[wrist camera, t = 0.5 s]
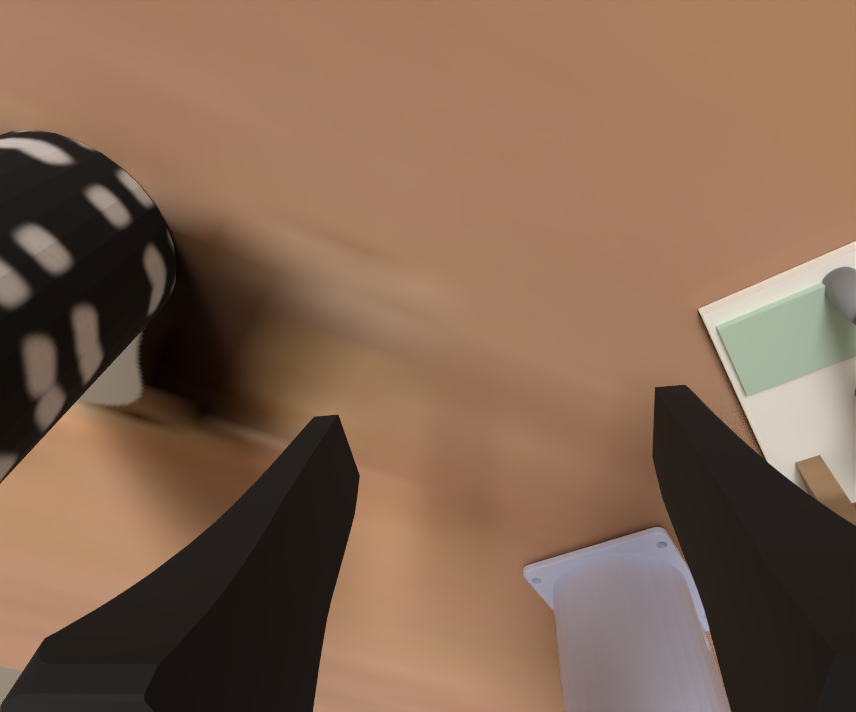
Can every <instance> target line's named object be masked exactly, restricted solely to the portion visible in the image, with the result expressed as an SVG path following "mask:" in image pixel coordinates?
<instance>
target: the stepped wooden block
mask: <svg viewBox="0 0 856 712" xmlns="http://www.w3.org/2000/svg"><path fill="white" fill-rule="evenodd" d="M795 463H796V466H797V468H798V471H799V473H800V475H801V478H802V480H803V482H804V485H805V487H806V490H807V492H808V494H809V495H810V496H812V497H813V498H815V499H816V500H818V501H819V502H821V503H822V504H823V505H825V506H826V507H828V508H829V509H831V510H832V511H834V512H835V513H837V514H838V515H840V516H841V517H843V518H844V519H846V520H847V521H849V522H851V523H852V524H854V525H855V526H856V509H855V508H854V506H853V505H852V503H851V501H850V500H849V498H848V497H847V495H846V494H845V492H844V491H843V489H842V488H841V486H840V485H839V483H838V482H837V480H836V479H835V477H834V476H833V474H832V472H831V471H830V469H829V468H828V466H827V465H826V463H825V462H824V460H823V459H822V457H821V456H820V455H818V456H815V457H811V458H808V459H805V460H802V461H799V462H795Z"/></svg>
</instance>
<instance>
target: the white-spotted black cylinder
mask: <svg viewBox="0 0 856 712" xmlns="http://www.w3.org/2000/svg"><path fill="white" fill-rule="evenodd" d="M176 265H177V263H176V257H175V251H174V245H173V242H172V239H171V236H170V233H169V231H168V228H167V225H166V223H165V222H164V220H163V218H162V216H161V214H160V213H159V211H158V209H157V207H156V206H155V204H154V203H153V202H152V200H151V199H150V198H149V196H148V195H147V194H146V193H145V191H144V190H143V189H142V187H141V186H140V185H139V184H138V183H137V182H136V181H135V180H134V179H133V178H132V177H131V176H130V175H128V174H127V173H126V172H125V171H124V170H123V169H122V168H121V167H120V166H118V165H117V164H115V163H114V162H113V161H111V160H110V159H109V158H107V157H106V156H104V155H103V154H102V153H100V152H98V151H96V150H94V149H92V148H90V147H89V146H87V145H85V144H83V143H81V142H79V141H77V140H74V139H71V138H68V137H64V136H61V135H58V134H55V133H50V132H43V131H35V130H25V131H11V132H8V133H5V134H2V135H0V483H1V482H2V481H3V480H4V479H5V478H6V477H7V476H8V474H9V473H10V472H11V471H12V470H13V469H14V468H15V467H16V466H17V465H18V464H19V463H20V462H21V460H22V459H23V458H24V457H25V456H26V455H27V454H28V453H29V452H30V451H31V450H32V449H33V447H34V446H35V445H36V444H37V443H38V442H39V441H40V440H41V439H42V438H43V437H44V436H45V435H46V433H47V432H48V431H49V430H50V429H51V428H52V427H53V426H54V425H55V424H56V423H57V422H58V421H59V419H60V418H61V417H62V416H63V415H64V414H65V413H66V412H67V411H68V410H69V409H70V408H71V406H72V405H73V404H74V403H75V402H76V401H77V400H78V399H79V398H80V397H81V396H82V395H83V394H84V392H85V391H86V390H87V389H88V388H89V387H90V386H91V385H92V384H93V383H94V382H95V381H96V380H97V378H98V377H99V376H100V375H101V374H102V373H103V372H104V371H105V370H106V369H107V367H108V366H110V364H111V363H112V362H113V361H114V360H115V359H116V358H117V357H118V356H119V355H120V354H121V353H122V351H123V350H124V349H125V348H126V347H127V346H128V345H129V344H130V343H131V342H132V341H133V340H134V339H135V337H136V336H137V335H138V334H139V333H140V332H141V331H142V330H143V329H144V328H145V327H146V326H147V325H148V323H149V322H150V321H151V320H152V319H153V318H154V317H155V316H156V315H157V314H158V313H159V312H160V311H161V309H162V308H163V307H164V305H165V304H166V302H167V301H168V299H169V298H170V296H171V293H172V290H173V287H174V284H175V281H176Z"/></svg>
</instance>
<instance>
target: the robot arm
mask: <svg viewBox="0 0 856 712" xmlns="http://www.w3.org/2000/svg"><path fill="white" fill-rule="evenodd" d="M652 457H653V461H654V465H655V469H656V474H657V478H658V482H659V486H660V490H661V494H662V498H663V501H664V503H665V506H666V509H667V512H668V514H669V517H670V519H671V522H672V525H673V527H674V530H675V533H676V535H677V538H678V541H679V543H680V546H681V548H682V551H683V554H684V556H685V559H686V561H687V563H686V561H685V560H684V558H683V557H682V555H681V553H680V552H679V550H678V548H677V547H676V545H675V544H674V542H673V540H672V539H671V537H670V536H669V534H668V532H667V531H666V530H665V529H664V528H661V527H653V528H650V529H646V530H643V531H640V532H636V533H633V534H630V535H626V536H623V537H620V538H616V539H613V540H610V541H606V542H603V543H600V544H596V545H593V546H589V547H586V548H583V549H579V550H576V551H573V552H569V553H566V554H563V555H559V556H556V557H553V558H549V559H546V560H543V561H539V562H536V563H533V564H529V565H527V566H525V567H524V568H523V576H524V578H525V579H526V580H527V581H528V582H529V583H530V585H531V586H532V587H533V588H534V589H535V590H536V592H537V593H538V594H539V595H540V596H541V597H542V599H543V600H544V601H545V602H546V603H547V604H548V605H549V607H550V608H551V609H552V610H553V611H554V614H555V624H556V635H557V645H558V656H559V666H560V677H561V687H562V698H563V708H564V712H856V526H855V525H854V524H852V523H851V522H849V521H847V520H846V519H844V518H843V517H841V516H840V515H838V514H837V513H835V512H834V511H832V510H831V509H829V508H828V507H826V506H825V505H823V504H822V503H821V502H819V501H818V500H816V499H815V498H813V497H812V496H810V495H809V494H808V493H806V492H805V491H803V490H802V489H801V488H800V487H798V486H797V485H796V484H794V483H793V482H792V481H790V480H789V479H788V478H787V477H785V476H784V475H783V474H782V473H780V472H779V471H778V470H777V469H775V468H774V467H773V466H772V465H770V464H769V463H768V462H767V461H766V460H765V459H763V458H762V457H761V456H760V455H759V454H757V453H756V452H755V451H754V450H753V449H752V448H751V447H750V446H749V445H747V444H746V443H745V442H744V441H743V440H742V439H741V438H740V437H738V436H737V435H736V434H735V433H734V432H733V431H732V430H731V429H730V428H729V427H728V426H727V425H726V424H725V423H724V422H723V421H721V420H720V419H719V418H718V417H717V416H716V415H715V414H714V413H713V412H712V411H711V410H710V409H709V408H708V407H707V406H706V405H705V404H704V403H703V402H702V401H701V400H700V399H699V398H698V397H697V395H696V394H695V393H694V392H693V391H692V390H691V389H690V388H688V387H687V386H686V385H678V386H666V387H655V404H654V430H653V455H652ZM359 477H360V475H359V472H358V470H357V467H356V464H355V461H354V458H353V455H352V452H351V450H350V447H349V444H348V441H347V438H346V435H345V433H344V430H343V427H342V424H341V421H340V418H339V415H330V416H318V417H314V418H313V419H312V420H311V421H310V422H309V423H308V424H307V425H306V426H305V427H304V429H303V430H302V431H301V432H300V433H299V434H298V435H297V437H296V438H295V439H294V440H293V441H292V442H291V444H290V445H289V446H288V447H287V448H286V449H285V450H284V452H283V453H282V454H281V455H280V456H279V457H278V458H277V459H276V461H275V462H274V463H273V464H272V465H271V466H270V467H269V468H268V469H267V471H266V472H265V473H264V474H263V475H262V476H261V477H260V478H259V479H258V480H257V481H256V482H255V483H254V484H253V485H252V486H251V487H250V488H249V489H248V490H247V491H246V492H245V494H244V495H243V496H242V497H241V498H240V499H239V500H238V501H237V502H236V503H235V504H234V505H233V506H232V507H231V508H230V509H229V510H228V511H227V512H225V513H224V514H223V515H222V516H221V517H220V518H219V519H218V520H217V521H216V522H215V523H214V524H212V525H211V526H210V527H209V528H208V529H207V530H205V531H204V532H203V533H202V534H201V535H200V536H198V537H197V538H196V539H195V540H194V541H193V542H191V543H190V544H189V545H188V546H186V547H185V548H184V549H182V550H181V551H180V552H178V553H177V554H176V555H175V556H173V557H172V558H171V559H169V560H168V561H167V562H165V563H164V564H163V565H161V566H160V567H159V568H157V569H156V570H155V571H154V572H152V573H151V574H149V575H148V576H146V577H145V578H144V579H142V580H141V581H139V582H138V583H136V584H135V585H133V586H132V587H130V588H129V589H127V590H126V591H124V592H123V593H121V594H120V595H118V596H117V597H115V598H113V599H112V600H110V601H109V602H107V603H106V604H104V605H102V606H101V607H99V608H97V609H96V610H94V611H92V612H91V613H89V614H87V615H85V616H84V617H82V618H80V619H79V620H77V621H75V622H73V623H72V624H70V625H68V626H66V627H65V628H63V629H61V630H59V631H58V632H56V633H54V634H52V635H50V636H49V637H47V638H45V639H44V640H43V642H42V643H41V645H40V646H39V648H38V649H37V651H36V652H35V654H34V655H33V657H32V658H31V660H30V661H29V663H28V664H27V666H26V667H25V669H24V671H23V672H22V674H21V675H20V677H19V678H18V680H17V681H16V683H15V684H14V686H13V687H12V689H11V690H10V692H9V693H8V695H7V696H6V698H5V699H4V701H3V702H2V704H1V707H0V712H313V706H314V698H315V691H316V685H317V678H318V671H319V664H320V657H321V651H322V645H323V639H324V633H325V627H326V621H327V617H328V612H329V608H330V604H331V599H332V596H333V592H334V588H335V585H336V581H337V578H338V574H339V570H340V567H341V563H342V559H343V556H344V552H345V549H346V545H347V541H348V537H349V534H350V530H351V526H352V522H353V518H354V515H355V508H356V501H357V494H358V485H359ZM687 564H688V565H687ZM707 631H710V633H711V637H712V640H713V644H714V648H715V651H716V655H717V659H718V663H719V667H720V671H721V674H722V678H723V682H724V686H725V690H726V693H725V690H724V687H723V683H722V680H721V677H720V674H719V671H718V668H717V664H716V661H715V658H714V655H713V652H712V649H711V646H710V642H709V639H708V636H707V633H706V632H707ZM726 694H727V696H726ZM727 698H728V699H727Z"/></svg>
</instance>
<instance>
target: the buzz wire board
mask: <svg viewBox="0 0 856 712" xmlns="http://www.w3.org/2000/svg"><path fill="white" fill-rule="evenodd" d="M855 268H856V241H855V242H852V243H850V244H848V245H845V246H843V247H841V248H838V249H836V250H834V251H831V252H829V253H827V254H825V255H822V256H820V257H818V258H815V259H813V260H811V261H808V262H806V263H804V264H801V265H799V266H797V267H794V268H792V269H790V270H787V271H785V272H783V273H781V274H778V275H776V276H774V277H771V278H769V279H767V280H764V281H762V282H760V283H757V284H755V285H753V286H750V287H748V288H746V289H743V290H741V291H739V292H736V293H734V294H732V295H730V296H727V297H725V298H723V299H720V300H718V301H716V302H713V303H711V304H709V305H706V306H704V307H702V308H699V309H698V311H699V313H700V315H701V317H702V320H703V322H704V324H705V326H706V328H707V331H708V333H709V335H710V337H711V339H712V342H713V344H714V346H715V348H716V351H717V353H718V355H719V357H720V359H721V362H722V364H723V366H724V368H725V370H726V373H727V375H728V377H729V379H730V382H731V384H732V386H733V388H734V390H735V393H736V395H737V397H738V399H739V402H740V404H741V406H742V408H743V410H744V413H745V415H746V417H747V419H748V421H749V424H750V426H751V428H752V430H753V433H754V435H755V437H756V439H757V441H758V444H759V446H760V448H761V450H762V452H763V455H764V457H765V459H766V461H767V462H768V463H769V464H770V465H772V466H773V467H774V468H775V469H777V470H778V471H779V472H780V473H782V474H783V475H784V476H785V477H787V478H788V479H789V480H790V481H792V482H793V483H794V484H796V485H797V486H798V487H800V488H801V489H802V490H803V491H805V492H806V493H808V492H807V490H806V487H805V485H804V482H803V480H802V478H801V475H800V473H799V471H798V468H797V466H796V463H795V462H799V461H802V460H805V459H808V458H811V457H815V456H818V455H820V456H821V457H822V459H823V460H824V462H825V463H826V465H827V466H828V468H829V469H830V471H831V472H832V474H833V476H834V477H835V479H836V480H837V482H838V483H839V485H840V486H841V488H842V489H843V491H844V492H845V494H846V495H847V497H848V498H849V500H850V501H851V503H855V502H856V357H853V358H850V359H848V360H845V361H842V362H839V363H837V364H834V365H831V366H828V367H826V368H823V369H820V370H817V371H815V372H812V373H809V374H806V375H804V376H801V377H798V378H795V379H793V380H790V381H787V382H784V383H782V384H779V385H776V386H773V387H771V388H768V389H765V390H762V391H760V392H757V393H754V394H751V395H749V396H747V395H746V393H745V391H744V389H743V387H742V384H741V382H740V380H739V377H738V375H737V373H736V371H735V368H734V366H733V364H732V362H731V359H730V357H729V355H728V353H727V350H726V348H725V346H724V343H723V341H722V339H721V337H720V334H719V332H718V330H717V328H716V326H718V325H720V324H722V323H725V322H727V321H730V320H732V319H734V318H737V317H739V316H742V315H744V314H746V313H749V312H751V311H754V310H756V309H758V308H761V307H763V306H766V305H768V304H771V303H773V302H775V301H778V300H780V299H783V298H785V297H787V296H790V295H792V294H795V293H797V292H799V291H802V290H804V289H807V288H809V287H811V286H814V285H816V284H819V283H821V282H822V283H823V284H824V285H825V295H826V296H827V298H828V299H829V300H830V301H831V302H832V303H833V304H834V305H835V306H836V307H837V308H838V309H839V310H840V311H841V312H842V313H843V314H844V315H845V316H846V317H847V318H848V319H849V320H850V321H851V322H852V323H853V324H855V325H856V270H855Z"/></svg>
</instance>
